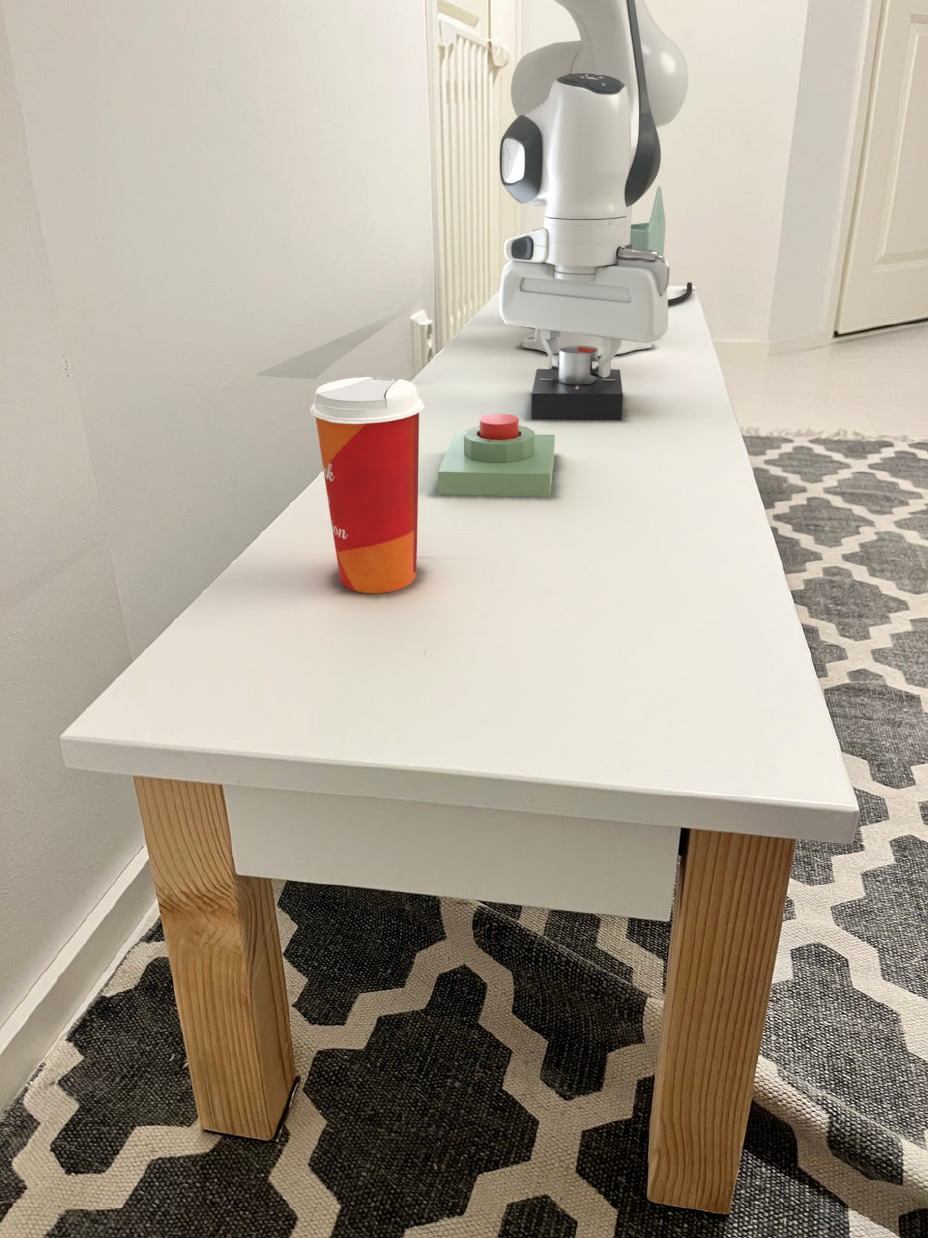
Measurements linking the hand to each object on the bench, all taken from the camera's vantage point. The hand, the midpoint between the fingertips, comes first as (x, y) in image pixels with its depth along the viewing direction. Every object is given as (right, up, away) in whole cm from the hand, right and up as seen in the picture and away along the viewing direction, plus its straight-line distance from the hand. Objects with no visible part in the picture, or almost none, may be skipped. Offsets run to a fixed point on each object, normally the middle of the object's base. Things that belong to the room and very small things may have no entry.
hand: (578, 372), depth 112 cm
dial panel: (0, -4, +2) cm, 4 cm away
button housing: (-10, -15, -20) cm, 26 cm away
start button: (-10, -11, -21) cm, 26 cm away
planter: (+16, +26, +59) cm, 67 cm away
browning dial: (0, -1, 0) cm, 1 cm away
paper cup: (-20, -26, -40) cm, 51 cm away
